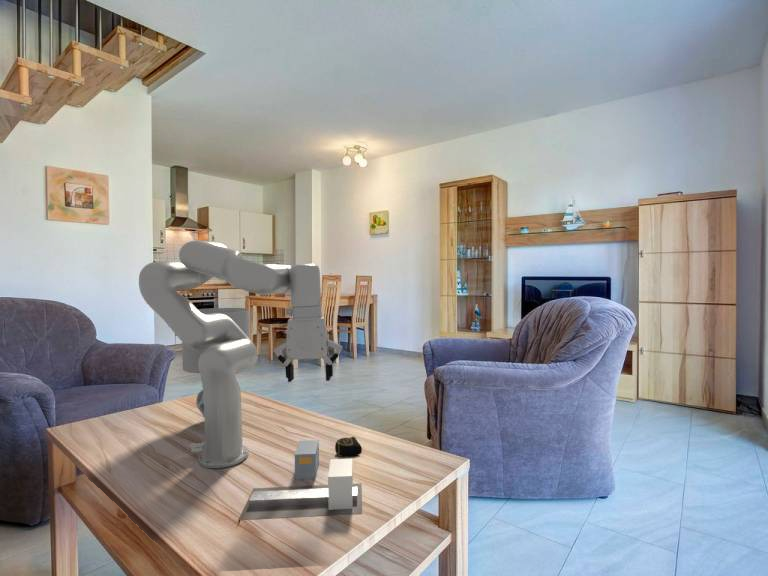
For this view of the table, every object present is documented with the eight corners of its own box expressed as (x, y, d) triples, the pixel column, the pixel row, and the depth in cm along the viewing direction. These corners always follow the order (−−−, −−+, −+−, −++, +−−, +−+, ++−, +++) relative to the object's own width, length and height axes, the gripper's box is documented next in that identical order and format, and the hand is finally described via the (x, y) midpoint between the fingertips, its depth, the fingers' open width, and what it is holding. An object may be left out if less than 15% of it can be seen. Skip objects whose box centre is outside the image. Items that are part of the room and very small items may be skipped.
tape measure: (362, 457, 111) (362, 444, 111) (338, 461, 109) (337, 447, 109) (356, 447, 118) (356, 434, 117) (333, 451, 115) (333, 438, 115)
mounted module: (328, 509, 85) (328, 477, 85) (331, 489, 93) (330, 459, 93) (352, 508, 85) (352, 475, 85) (352, 488, 93) (352, 458, 93)
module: (295, 483, 98) (294, 454, 97) (299, 467, 106) (299, 440, 106) (315, 482, 98) (315, 454, 98) (319, 466, 106) (318, 439, 106)
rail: (248, 507, 86) (248, 500, 86) (253, 498, 90) (252, 491, 90) (357, 502, 88) (357, 495, 88) (357, 493, 91) (357, 486, 91)
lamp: (183, 416, 144) (180, 309, 143) (246, 406, 154) (243, 306, 153) (186, 438, 125) (182, 315, 124) (257, 425, 135) (254, 311, 134)
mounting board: (238, 524, 82) (238, 519, 82) (253, 492, 94) (253, 488, 94) (362, 518, 83) (362, 513, 83) (361, 487, 95) (361, 483, 95)
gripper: (268, 315, 99) (271, 385, 100) (338, 313, 98) (341, 383, 99) (277, 312, 106) (280, 377, 107) (342, 310, 106) (345, 375, 106)
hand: (309, 380), depth 103 cm, fingers open, 9 cm apart
